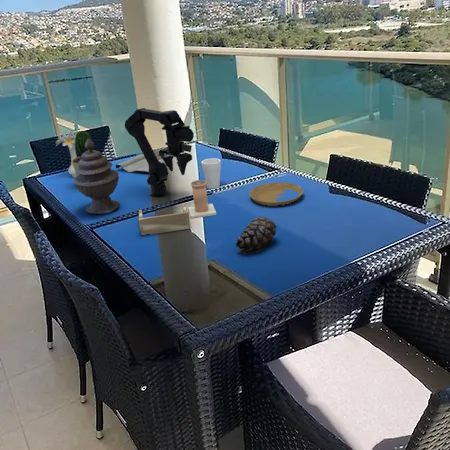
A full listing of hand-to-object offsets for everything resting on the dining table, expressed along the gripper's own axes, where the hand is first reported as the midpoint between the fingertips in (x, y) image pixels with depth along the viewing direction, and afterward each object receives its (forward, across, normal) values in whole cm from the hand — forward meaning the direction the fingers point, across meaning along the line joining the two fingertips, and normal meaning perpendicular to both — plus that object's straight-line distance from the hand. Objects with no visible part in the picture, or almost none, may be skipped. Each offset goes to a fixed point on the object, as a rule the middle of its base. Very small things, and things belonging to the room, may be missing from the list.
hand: (177, 173), depth 221 cm
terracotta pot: (+12, -20, +3) cm, 24 cm away
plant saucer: (+14, -34, -30) cm, 47 cm away
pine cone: (+13, -62, +9) cm, 64 cm away
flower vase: (+13, +78, +16) cm, 81 cm away
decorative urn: (+13, +18, +31) cm, 39 cm away
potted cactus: (+13, +55, +19) cm, 60 cm away
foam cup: (+13, +1, -21) cm, 25 cm away
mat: (+14, +59, -17) cm, 63 cm away
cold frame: (+13, -18, +21) cm, 30 cm away
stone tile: (+13, -20, +3) cm, 24 cm away
